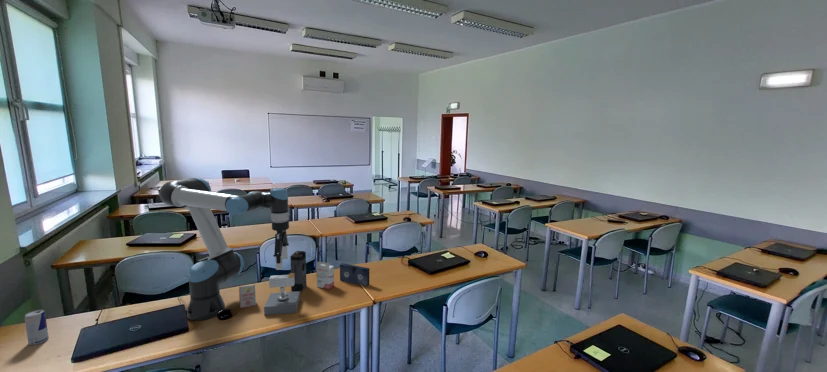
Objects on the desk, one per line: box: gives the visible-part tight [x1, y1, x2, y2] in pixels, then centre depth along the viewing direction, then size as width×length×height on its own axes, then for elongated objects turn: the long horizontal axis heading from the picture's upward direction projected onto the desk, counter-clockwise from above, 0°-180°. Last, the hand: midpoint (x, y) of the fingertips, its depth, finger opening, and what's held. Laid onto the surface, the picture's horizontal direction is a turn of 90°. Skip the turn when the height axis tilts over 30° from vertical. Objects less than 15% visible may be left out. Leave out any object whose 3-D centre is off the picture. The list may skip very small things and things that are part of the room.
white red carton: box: [238, 284, 257, 309], centre depth 162 cm, size 4×7×10 cm, turn 113°
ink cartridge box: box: [315, 261, 335, 290], centre depth 185 cm, size 9×5×15 cm, turn 73°
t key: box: [268, 272, 295, 300], centre depth 161 cm, size 11×5×12 cm, turn 101°
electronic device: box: [289, 250, 307, 293], centre depth 181 cm, size 9×6×20 cm, turn 179°
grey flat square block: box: [263, 291, 301, 316], centre depth 162 cm, size 14×14×4 cm
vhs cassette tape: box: [339, 262, 370, 287], centre depth 191 cm, size 18×3×10 cm, turn 68°
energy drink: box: [24, 309, 49, 346], centre depth 130 cm, size 5×5×12 cm
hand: (282, 264), depth 159 cm, fingers open, 13 cm apart
